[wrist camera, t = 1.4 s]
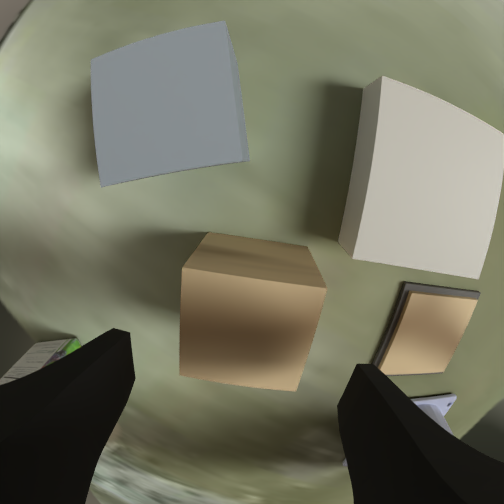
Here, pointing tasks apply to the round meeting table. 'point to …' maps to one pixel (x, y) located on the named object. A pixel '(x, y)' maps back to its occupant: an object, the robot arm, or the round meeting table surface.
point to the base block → (421, 183)
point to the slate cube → (168, 105)
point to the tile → (424, 329)
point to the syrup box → (40, 357)
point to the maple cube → (248, 311)
